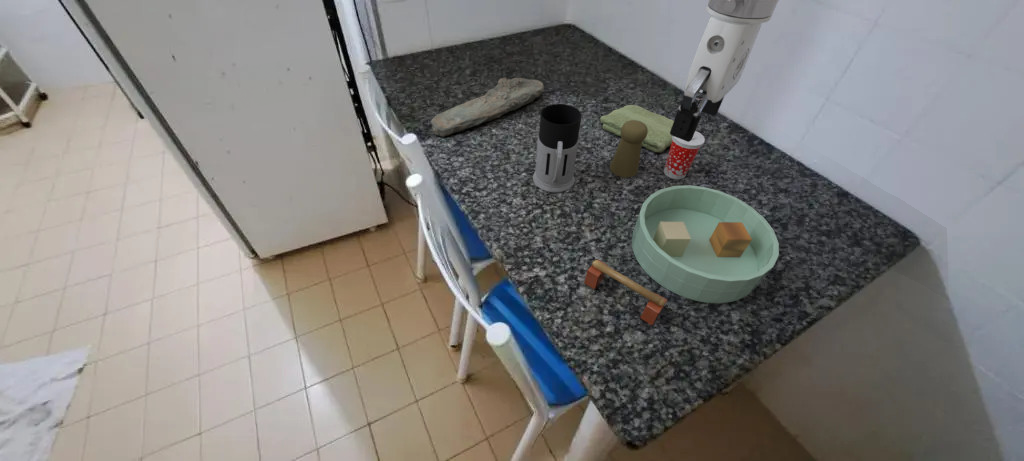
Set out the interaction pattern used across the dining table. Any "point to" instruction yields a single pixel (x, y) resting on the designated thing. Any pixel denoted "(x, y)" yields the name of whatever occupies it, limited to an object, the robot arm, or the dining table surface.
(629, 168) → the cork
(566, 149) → the glass holder
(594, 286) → the red blocks
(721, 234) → the amber block
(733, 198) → the bowl
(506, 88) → the elongated grey stone
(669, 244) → the cream block
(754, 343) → the dining table surface
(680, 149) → the beverage cup
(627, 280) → the tan wooden rod
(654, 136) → the washcloth
